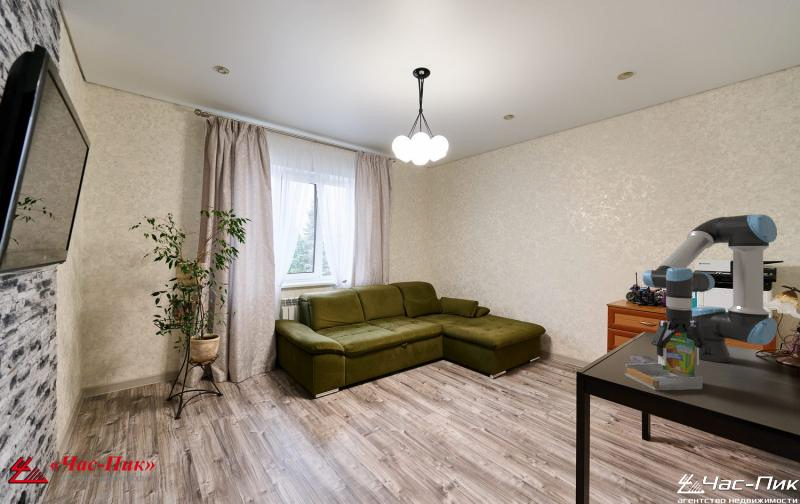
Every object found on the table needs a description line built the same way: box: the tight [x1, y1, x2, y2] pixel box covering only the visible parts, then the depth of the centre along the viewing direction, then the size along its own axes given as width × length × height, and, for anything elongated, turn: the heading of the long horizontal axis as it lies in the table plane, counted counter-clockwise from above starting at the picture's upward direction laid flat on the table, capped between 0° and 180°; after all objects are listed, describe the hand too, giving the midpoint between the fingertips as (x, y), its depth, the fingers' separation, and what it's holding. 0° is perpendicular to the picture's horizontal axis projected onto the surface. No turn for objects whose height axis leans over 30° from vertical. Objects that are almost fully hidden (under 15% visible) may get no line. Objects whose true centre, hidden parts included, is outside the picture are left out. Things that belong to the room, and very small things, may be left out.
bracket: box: [624, 363, 704, 391], centre depth 120 cm, size 18×14×4 cm
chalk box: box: [663, 332, 696, 376], centre depth 120 cm, size 9×9×15 cm
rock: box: [629, 354, 658, 364], centre depth 134 cm, size 8×11×5 cm
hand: (678, 364), depth 120 cm, fingers closed on chalk box, 12 cm apart
